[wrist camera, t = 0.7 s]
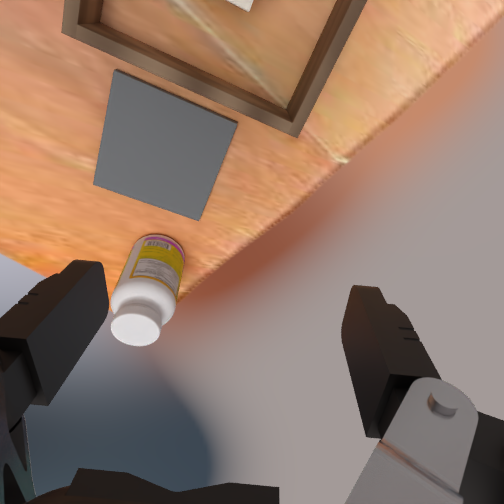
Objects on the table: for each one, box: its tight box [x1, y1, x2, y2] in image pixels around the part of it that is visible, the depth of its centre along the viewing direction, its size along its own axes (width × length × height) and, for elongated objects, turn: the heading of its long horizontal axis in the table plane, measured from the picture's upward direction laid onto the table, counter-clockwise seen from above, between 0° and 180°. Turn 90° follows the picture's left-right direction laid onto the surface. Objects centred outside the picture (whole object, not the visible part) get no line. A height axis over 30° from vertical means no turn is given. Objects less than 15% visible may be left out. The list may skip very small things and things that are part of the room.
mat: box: [93, 69, 238, 221], centre depth 36 cm, size 12×12×1 cm
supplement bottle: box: [111, 235, 185, 346], centre depth 38 cm, size 7×7×13 cm
